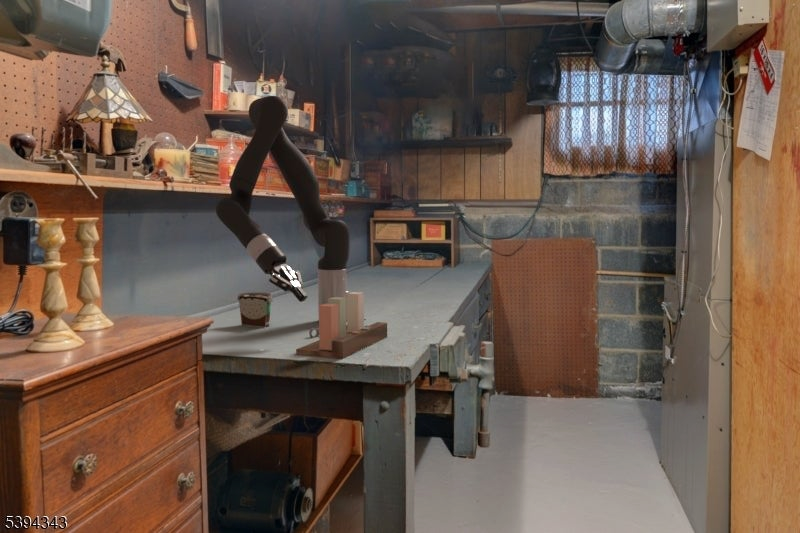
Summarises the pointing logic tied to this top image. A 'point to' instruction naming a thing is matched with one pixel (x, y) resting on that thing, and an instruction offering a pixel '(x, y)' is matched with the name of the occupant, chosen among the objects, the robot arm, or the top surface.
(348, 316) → the tan upright block
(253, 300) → the food container
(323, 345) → the terracotta key
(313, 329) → the combination wrench
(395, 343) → the top surface
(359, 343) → the brown wooden base
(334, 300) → the sage key
